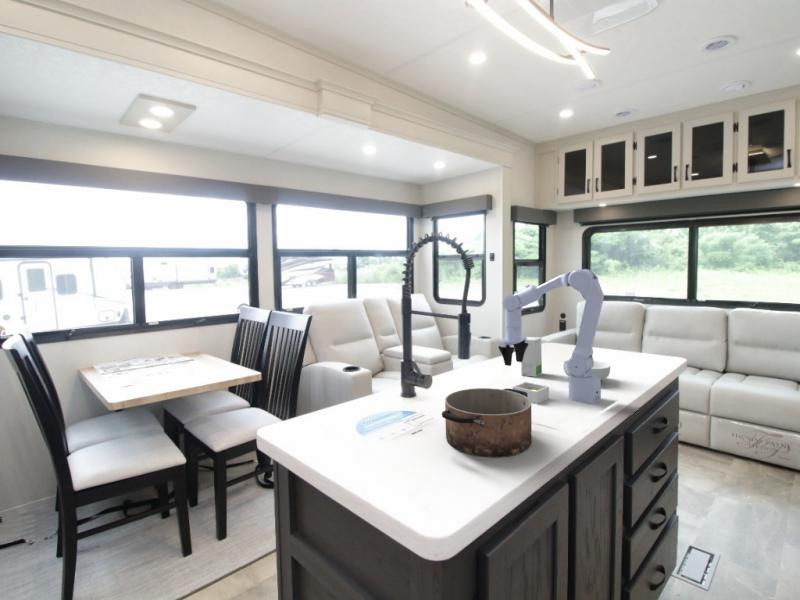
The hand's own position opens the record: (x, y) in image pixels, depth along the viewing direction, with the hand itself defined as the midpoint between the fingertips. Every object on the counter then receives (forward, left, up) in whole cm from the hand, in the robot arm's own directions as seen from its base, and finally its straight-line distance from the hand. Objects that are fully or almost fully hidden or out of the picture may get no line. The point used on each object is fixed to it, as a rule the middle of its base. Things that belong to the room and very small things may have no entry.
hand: (513, 363), depth 152 cm
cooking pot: (-20, +43, -10) cm, 48 cm away
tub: (-11, +7, -10) cm, 16 cm away
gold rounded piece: (-12, +6, -9) cm, 17 cm away
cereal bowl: (-14, -29, -10) cm, 34 cm away
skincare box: (+7, -24, -10) cm, 27 cm away
